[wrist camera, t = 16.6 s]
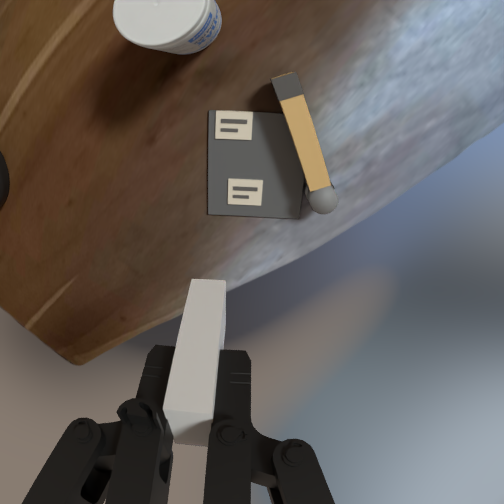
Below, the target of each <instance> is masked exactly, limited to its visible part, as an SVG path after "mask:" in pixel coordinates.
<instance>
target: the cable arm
mask: <svg viewBox="0 0 504 504" xmlns="http://www.w3.org/2000/svg"><path fill="white" fill-rule="evenodd" d="M270 80H271V83H272V86H273V88H274V91H275V94H276V96H277V99H278V100H279V102H280V105H281V108H282V111H283V113H284V116H285V119H286V122H287V125H288V128H289V131H290V133H291V136H292V139H293V142H294V145H295V148H296V151H297V154H298V157H299V160H300V163H301V166H302V170H303V173H304V176H305V179H306V182H307V185H308V187H309V188H308V190H307V197H308V200H309V202H310V205H311V207H312V209H313V210H314V211H315V212H317V213H319V214H328V213H330V212H332V211H333V210H334V209H335V208H336V207H337V205H338V196H337V194H336V192H335V191H334V189H333V187H332V186H331V183H330V180H329V176H328V172H327V169H326V165H325V162H324V159H323V155H322V152H321V149H320V145H319V142H318V139H317V135H316V132H315V129H314V126H313V123H312V120H311V117H310V114H309V110H308V107H307V104H306V102H305V99H304V96H303V94H304V93H303V90H302V87H301V84H300V81H299V79H298V76H297V73H296V72H290V73H287V74H284V75H280V76H277V77H274V78H271V79H270Z"/></svg>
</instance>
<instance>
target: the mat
mask: <svg viewBox="0 0 504 504" xmlns="http://www.w3.org/2000/svg"><path fill="white" fill-rule="evenodd" d="M242 112H244V111H242ZM310 117H311V116H310ZM215 131H216V110H209V136H208V214H213V215H236V216H256V217H274V218H291V219H299V214H300V207H301V199H302V191H303V183H304V173H303V170H302V166H301V163H300V160H299V157H298V154H297V151H296V148H295V145H294V142H293V139H292V136H291V133H290V131H289V128H288V125H287V122H286V119H285V116H284V114H281V113H267V112H253V120H252V138H251V140H240V139H215ZM229 178H232V179H253V180H263V187H262V201H261V206H258V205H238V204H228V179H229Z"/></svg>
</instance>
